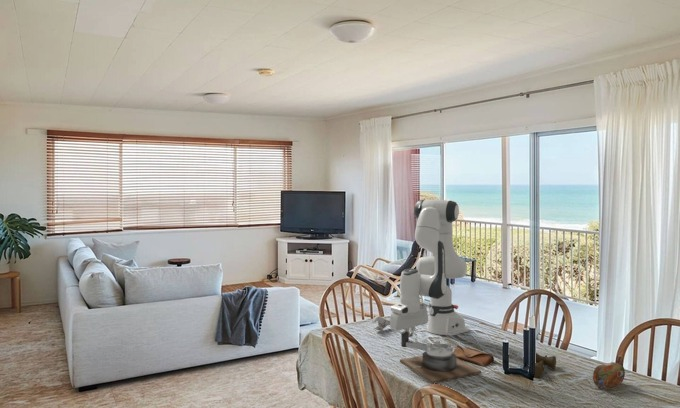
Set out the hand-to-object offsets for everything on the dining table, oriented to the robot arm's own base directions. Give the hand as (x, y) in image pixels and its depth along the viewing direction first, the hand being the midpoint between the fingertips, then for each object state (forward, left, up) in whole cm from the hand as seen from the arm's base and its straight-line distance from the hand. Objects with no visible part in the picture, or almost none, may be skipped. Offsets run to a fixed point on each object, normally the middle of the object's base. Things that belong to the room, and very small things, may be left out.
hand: (409, 336), depth 210 cm
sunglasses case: (-23, +13, -10) cm, 29 cm away
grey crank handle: (-2, +10, -4) cm, 11 cm away
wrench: (-16, -41, -10) cm, 45 cm away
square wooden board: (-5, +15, -9) cm, 18 cm away
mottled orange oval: (-54, +56, -10) cm, 79 cm away
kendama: (-43, +34, -10) cm, 56 cm away
